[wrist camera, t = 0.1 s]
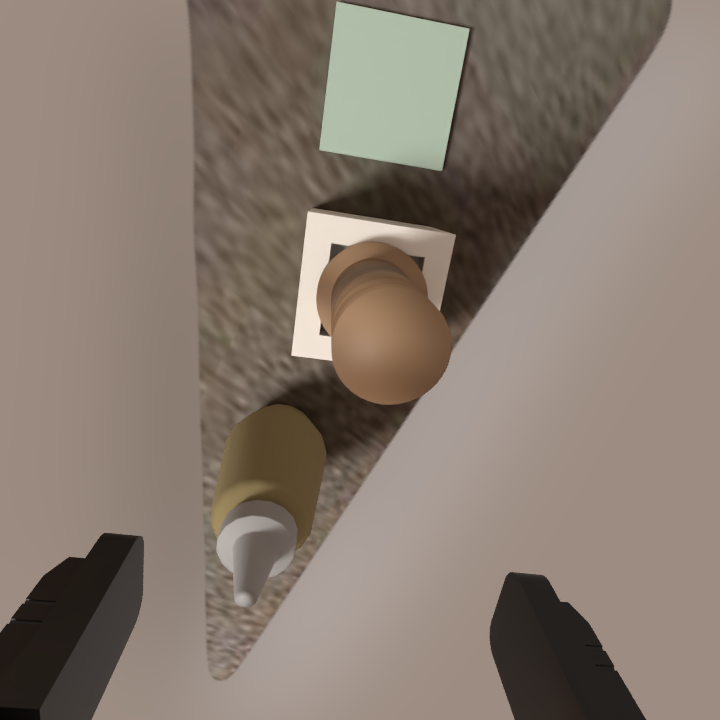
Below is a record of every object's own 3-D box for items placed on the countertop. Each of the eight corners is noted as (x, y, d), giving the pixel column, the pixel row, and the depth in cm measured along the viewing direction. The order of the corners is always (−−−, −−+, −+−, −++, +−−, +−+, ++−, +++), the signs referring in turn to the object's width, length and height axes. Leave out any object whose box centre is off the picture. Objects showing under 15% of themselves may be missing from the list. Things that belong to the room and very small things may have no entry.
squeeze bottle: (285, 490, 44) (257, 679, 27) (213, 437, 41) (132, 606, 24) (346, 430, 42) (356, 590, 25) (274, 372, 40) (232, 504, 23)
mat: (336, 3, 32) (336, 1, 31) (468, 30, 33) (469, 28, 32) (319, 150, 34) (319, 149, 34) (440, 171, 35) (441, 170, 35)
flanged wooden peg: (324, 232, 30) (320, 254, 18) (430, 248, 30) (490, 280, 19) (311, 336, 32) (300, 414, 21) (410, 349, 33) (453, 431, 21)
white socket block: (312, 208, 36) (307, 211, 28) (430, 226, 37) (455, 234, 29) (299, 324, 39) (291, 355, 31) (408, 338, 39) (426, 372, 32)
